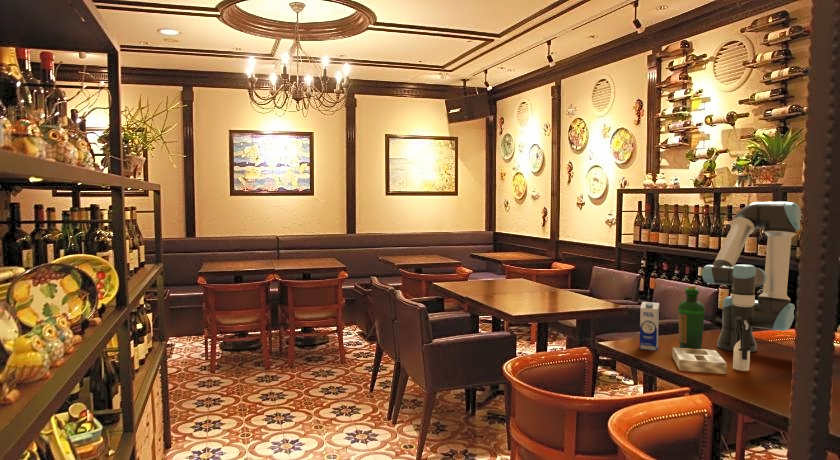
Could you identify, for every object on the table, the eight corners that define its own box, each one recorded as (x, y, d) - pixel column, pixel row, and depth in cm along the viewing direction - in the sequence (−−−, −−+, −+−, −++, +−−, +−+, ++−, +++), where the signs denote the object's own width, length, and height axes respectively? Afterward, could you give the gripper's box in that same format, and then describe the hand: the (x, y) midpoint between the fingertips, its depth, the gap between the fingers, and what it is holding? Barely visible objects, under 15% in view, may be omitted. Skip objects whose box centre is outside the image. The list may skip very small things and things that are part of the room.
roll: (730, 336, 229) (743, 335, 230) (729, 367, 229) (742, 366, 230) (741, 339, 223) (754, 339, 224) (740, 371, 223) (753, 370, 224)
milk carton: (658, 347, 260) (659, 302, 259) (656, 351, 254) (657, 304, 253) (641, 345, 263) (642, 301, 262) (639, 349, 257) (640, 303, 256)
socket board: (715, 360, 240) (715, 350, 240) (726, 374, 220) (726, 363, 220) (672, 356, 244) (672, 347, 244) (679, 370, 224) (679, 359, 224)
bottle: (682, 346, 263) (684, 283, 262) (707, 350, 256) (709, 285, 255) (672, 350, 256) (674, 285, 255) (698, 354, 248) (700, 288, 247)
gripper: (726, 300, 236) (725, 358, 237) (738, 308, 218) (736, 371, 219) (747, 301, 234) (746, 360, 235) (760, 309, 216) (758, 372, 217)
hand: (741, 365), depth 227 cm, fingers closed on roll, 6 cm apart
